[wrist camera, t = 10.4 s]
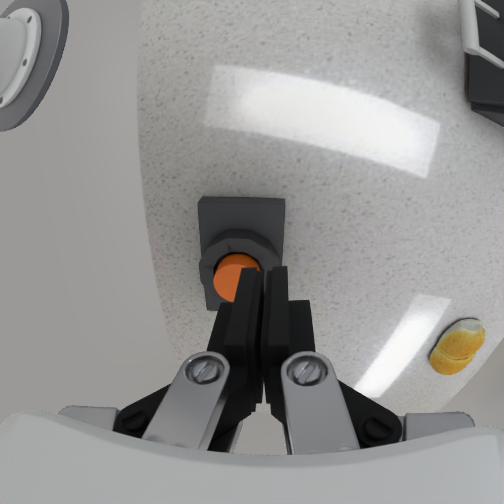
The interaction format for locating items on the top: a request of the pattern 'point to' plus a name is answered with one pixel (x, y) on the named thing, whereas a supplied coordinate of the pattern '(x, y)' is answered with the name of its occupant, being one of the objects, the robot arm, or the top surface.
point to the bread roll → (457, 346)
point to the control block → (238, 236)
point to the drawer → (484, 49)
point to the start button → (231, 274)
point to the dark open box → (490, 112)
